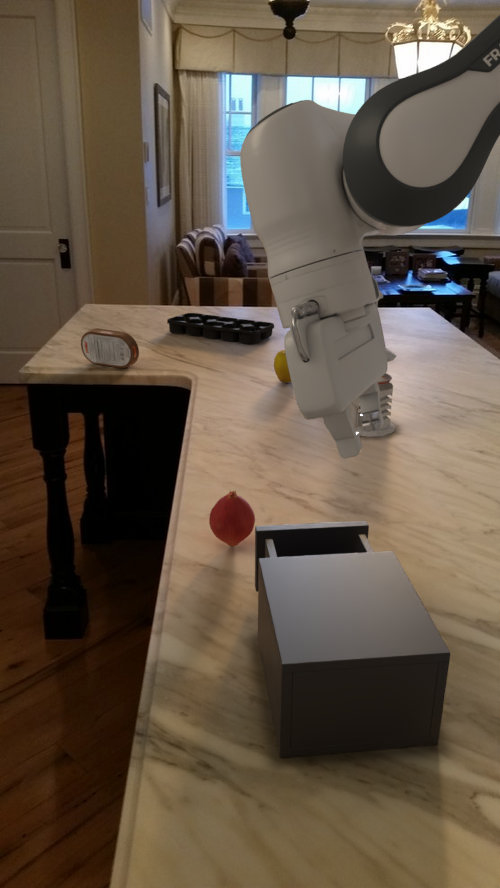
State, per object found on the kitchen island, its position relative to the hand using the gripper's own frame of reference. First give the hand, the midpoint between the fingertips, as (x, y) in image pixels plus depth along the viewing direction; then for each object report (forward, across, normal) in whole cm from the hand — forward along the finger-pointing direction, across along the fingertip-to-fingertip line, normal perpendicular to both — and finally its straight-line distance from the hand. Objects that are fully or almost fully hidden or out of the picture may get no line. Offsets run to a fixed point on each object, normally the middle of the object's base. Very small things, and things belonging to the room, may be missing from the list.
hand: (364, 441), depth 66 cm
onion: (+13, +14, +25) cm, 31 cm away
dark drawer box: (+22, -6, +7) cm, 24 cm away
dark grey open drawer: (+19, +2, +11) cm, 21 cm away
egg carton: (-13, +116, +66) cm, 134 cm away
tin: (-13, +79, +78) cm, 112 cm away
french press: (+11, +62, +17) cm, 65 cm away
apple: (+1, +82, +37) cm, 90 cm away
